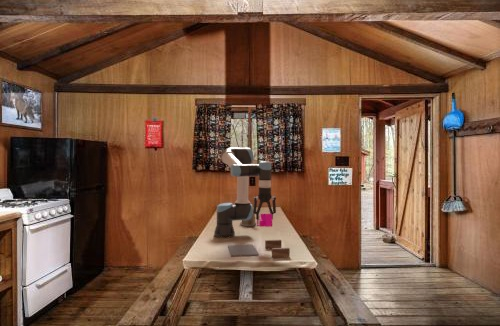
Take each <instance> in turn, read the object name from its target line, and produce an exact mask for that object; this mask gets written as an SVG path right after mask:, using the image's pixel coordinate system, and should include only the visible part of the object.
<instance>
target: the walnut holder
mask: <svg viewBox="0 0 500 326" xmlns="http://www.w3.org/2000/svg"><path fill="white" fill-rule="evenodd" d="M264 245H265V246H264V248H265V249H267V250H271V258H272V259H276V258H277V259H279V258H281V259H282V258H290V257H291V255H290V250H291V249H290V248H289V247H282V239H265V241H264Z"/></svg>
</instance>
